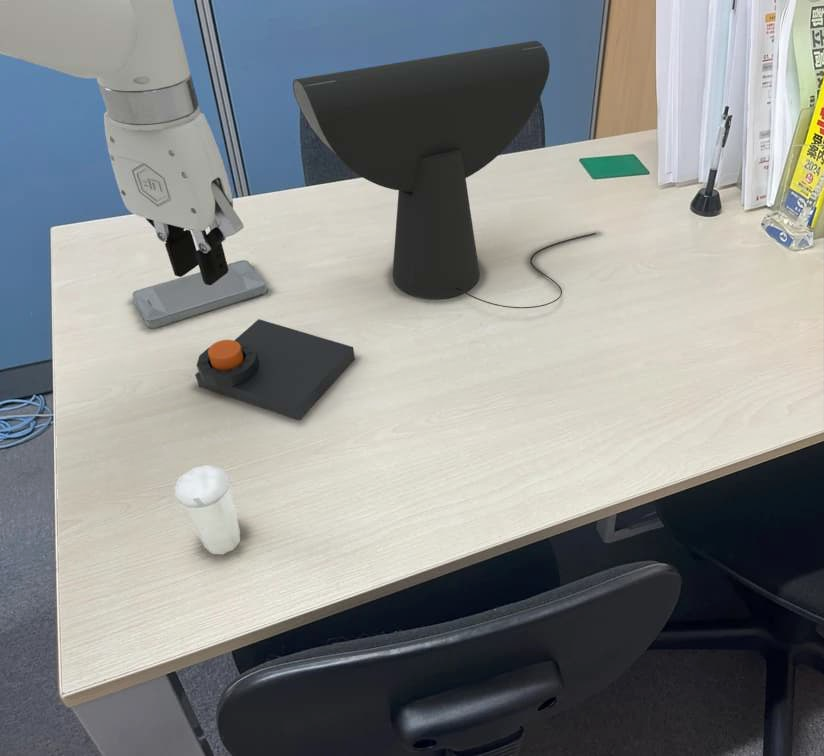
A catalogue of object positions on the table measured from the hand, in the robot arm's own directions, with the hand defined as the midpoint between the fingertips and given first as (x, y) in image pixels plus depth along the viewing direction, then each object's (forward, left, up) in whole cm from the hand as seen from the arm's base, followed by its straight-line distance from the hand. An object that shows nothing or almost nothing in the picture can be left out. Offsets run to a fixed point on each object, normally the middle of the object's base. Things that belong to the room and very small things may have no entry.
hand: (202, 272), depth 75 cm
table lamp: (+17, +34, -15) cm, 41 cm away
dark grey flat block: (+4, +3, -15) cm, 16 cm away
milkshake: (+14, -20, -15) cm, 29 cm away
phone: (-15, +12, -15) cm, 25 cm away
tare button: (0, 0, -12) cm, 12 cm away
